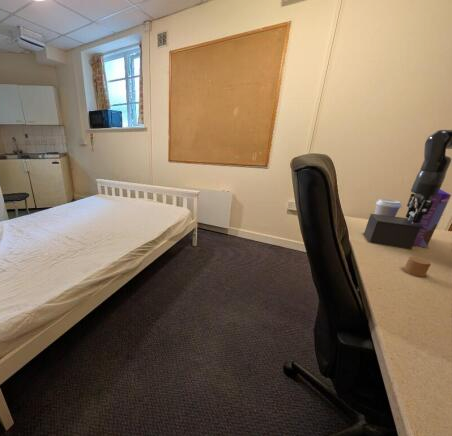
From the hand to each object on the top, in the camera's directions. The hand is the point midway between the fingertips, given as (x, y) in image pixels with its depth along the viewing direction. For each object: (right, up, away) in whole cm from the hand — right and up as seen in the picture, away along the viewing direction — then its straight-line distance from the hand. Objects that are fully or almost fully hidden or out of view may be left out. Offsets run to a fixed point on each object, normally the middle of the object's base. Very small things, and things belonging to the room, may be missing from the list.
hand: (412, 219), depth 96 cm
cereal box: (+10, -10, +8) cm, 16 cm away
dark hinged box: (-5, -10, +7) cm, 13 cm away
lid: (-4, -1, +3) cm, 5 cm away
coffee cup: (+7, -5, +21) cm, 23 cm away
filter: (-19, -19, -17) cm, 32 cm away
